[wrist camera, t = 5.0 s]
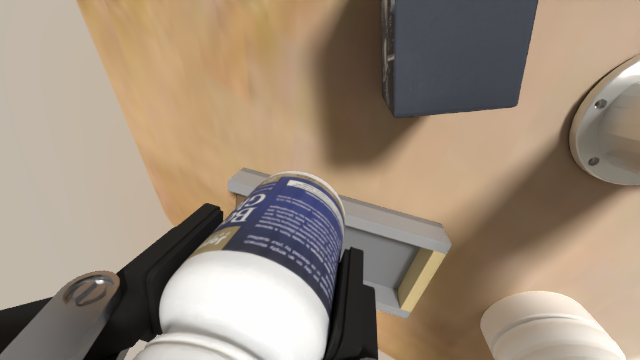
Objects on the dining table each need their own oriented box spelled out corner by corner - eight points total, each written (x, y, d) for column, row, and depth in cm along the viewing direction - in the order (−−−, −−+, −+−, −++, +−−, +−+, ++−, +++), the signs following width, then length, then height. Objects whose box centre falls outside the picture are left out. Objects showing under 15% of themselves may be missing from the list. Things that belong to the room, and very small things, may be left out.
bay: (441, 224, 30) (452, 244, 26) (402, 293, 35) (406, 318, 32) (243, 167, 31) (228, 180, 27) (236, 243, 37) (222, 262, 33)
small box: (376, -64, 20) (391, -223, 9) (466, -86, 19) (606, -303, 8) (380, 100, 25) (393, 120, 14) (451, 92, 24) (524, 108, 13)
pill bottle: (276, 148, 12) (50, 340, 3) (365, 201, 13) (364, 495, 4) (240, 221, 15) (53, 444, 6) (316, 263, 15) (247, 534, 6)
